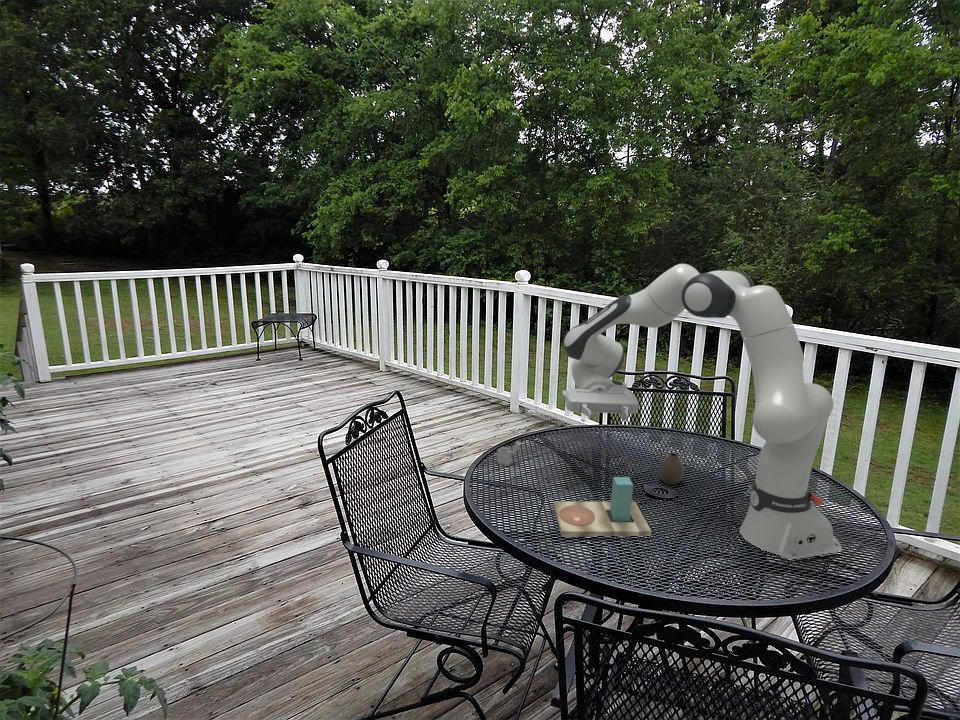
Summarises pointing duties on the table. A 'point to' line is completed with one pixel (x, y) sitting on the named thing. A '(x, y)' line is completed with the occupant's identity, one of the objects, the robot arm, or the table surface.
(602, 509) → the pocket board
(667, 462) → the vase
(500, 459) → the lighter
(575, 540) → the table surface
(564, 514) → the tan flat disc
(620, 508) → the peg
